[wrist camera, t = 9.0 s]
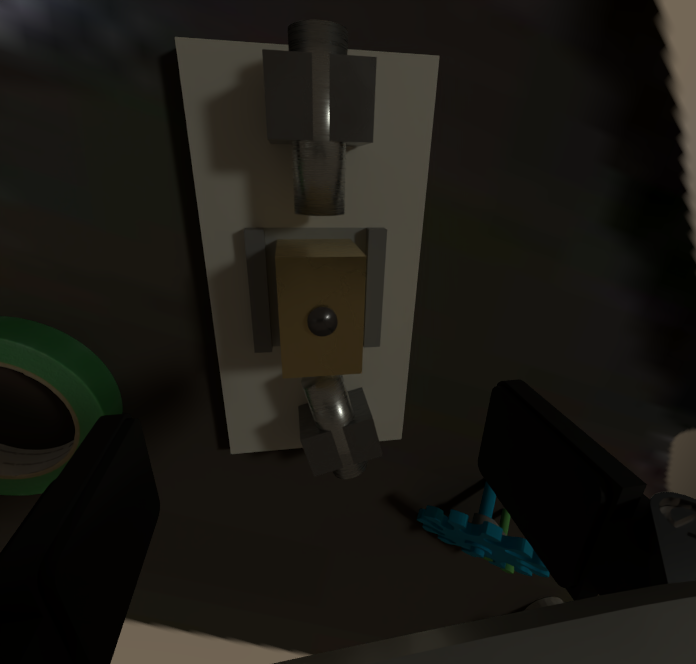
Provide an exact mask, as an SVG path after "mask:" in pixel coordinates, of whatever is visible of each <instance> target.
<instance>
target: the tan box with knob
mask: <svg viewBox="0 0 696 664" xmlns="http://www.w3.org/2000/svg"><path fill="white" fill-rule="evenodd" d="M275 265H276V281H277V297H278V313H279V329H280V346H281V362H282V378H283V379H284V378H300V377H316V376H331V375H347V374H362V359H363V332H364V306H365V279H366V256H365V254H364V253H363V252H362V251H361V250H360V249H359V248H358V247H357V246H356V244H355V243H354V242H353V241H352V240H351V239H277V245H276V254H275Z"/></svg>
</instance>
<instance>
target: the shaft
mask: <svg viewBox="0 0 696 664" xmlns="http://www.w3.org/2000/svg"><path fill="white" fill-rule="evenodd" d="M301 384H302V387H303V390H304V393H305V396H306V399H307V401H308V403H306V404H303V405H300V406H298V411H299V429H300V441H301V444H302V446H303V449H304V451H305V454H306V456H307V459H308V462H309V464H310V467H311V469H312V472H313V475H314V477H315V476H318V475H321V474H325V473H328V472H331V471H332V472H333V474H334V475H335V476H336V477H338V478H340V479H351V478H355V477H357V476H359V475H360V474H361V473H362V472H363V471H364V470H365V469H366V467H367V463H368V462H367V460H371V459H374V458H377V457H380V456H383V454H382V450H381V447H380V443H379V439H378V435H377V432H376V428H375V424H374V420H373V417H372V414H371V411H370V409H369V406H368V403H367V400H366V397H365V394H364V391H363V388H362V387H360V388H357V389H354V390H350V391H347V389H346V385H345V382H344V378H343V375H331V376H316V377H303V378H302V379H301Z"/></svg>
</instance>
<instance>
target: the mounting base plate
mask: <svg viewBox="0 0 696 664" xmlns="http://www.w3.org/2000/svg"><path fill="white" fill-rule="evenodd" d="M175 43H176V50H177V58H178V65H179V73H180V80H181V87H182V95H183V102H184V110H185V117H186V124H187V132H188V139H189V147H190V154H191V161H192V169H193V176H194V184H195V191H196V198H197V206H198V213H199V221H200V228H201V235H202V243H203V250H204V258H205V265H206V272H207V280H208V287H209V295H210V302H211V309H212V317H213V324H214V332H215V339H216V346H217V354H218V361H219V368H220V376H221V383H222V391H223V398H224V405H225V413H226V420H227V428H228V435H229V442H230V450H231V454H238V453H249V452H261V451H272V450H283V449H294V448H303V446H302V444H301V441H300V429H299V411H298V406H300V405H303V404H306V403H308V401H307V399H306V396H305V393H304V390H303V387H302V384H301V379H302V378H303V377H300V378H284V379H283V378H282V362H281V346H280V329H279V313H278V297H277V281H276V265H275V254H276V245H277V239H351V240H352V241H353V242H354V243H355V244H356V246H357V247H358V248H359V249H360V250H361V251H362V252H363V253H364V254H365V256H366V279H365V306H364V332H363V359H362V374H347V375H343V378H344V382H345V385H346V389H347V391H350V390H354V389H357V388H360V387H362V388H363V391H364V394H365V397H366V400H367V403H368V406H369V409H370V411H371V414H372V417H373V420H374V424H375V428H376V432H377V435H378V439H379V441H385V440H396V439H401V438H402V428H403V418H404V408H405V398H406V388H407V378H408V368H409V357H410V347H411V337H412V327H413V317H414V307H415V297H416V287H417V277H418V267H419V257H420V247H421V237H422V227H423V217H424V206H425V196H426V186H427V176H428V166H429V156H430V146H431V136H432V126H433V116H434V106H435V96H436V86H437V76H438V66H439V56H434V55H420V54H406V53H392V52H378V51H364V50H350V49H348V55H355V56H370V57H377V63H376V86H375V109H374V133H373V143H370V144H366V145H363V146H359V147H358V146H346V177H345V214H343V215H337V216H307V215H299V214H295V213H294V191H293V163H292V144H270V142H269V141H268V139H267V124H266V107H265V90H264V73H263V56H262V49H268V50H283V51H289V50H288V45H280V44H266V43H252V42H238V41H224V40H210V39H196V38H182V37H175Z"/></svg>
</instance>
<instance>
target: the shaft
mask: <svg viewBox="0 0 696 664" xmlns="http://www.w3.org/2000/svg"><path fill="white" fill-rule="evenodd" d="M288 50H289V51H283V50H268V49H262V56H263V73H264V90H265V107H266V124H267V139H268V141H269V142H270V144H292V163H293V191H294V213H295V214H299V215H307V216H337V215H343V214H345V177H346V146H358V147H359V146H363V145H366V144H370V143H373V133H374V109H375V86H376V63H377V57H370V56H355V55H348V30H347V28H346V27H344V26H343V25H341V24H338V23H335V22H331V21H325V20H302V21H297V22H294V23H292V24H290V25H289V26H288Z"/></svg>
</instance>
